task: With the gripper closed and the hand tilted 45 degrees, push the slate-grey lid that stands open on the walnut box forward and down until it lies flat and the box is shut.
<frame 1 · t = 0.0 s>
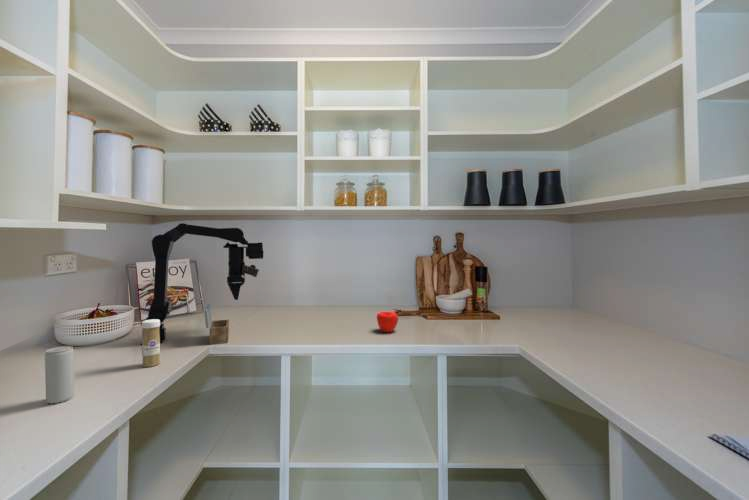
hand: (236, 298, 130), 15 cm above the worktop, tool pointing down, fingers open, 9 cm apart
sprinkles bottle: (151, 365, 97), on the worktop
apple: (387, 331, 136), on the worktop
walnut box: (219, 339, 124), on the worktop
box lid: (208, 315, 122), point 9 cm above the worktop, hinge at 95.0°
beverage can: (60, 400, 75), on the worktop
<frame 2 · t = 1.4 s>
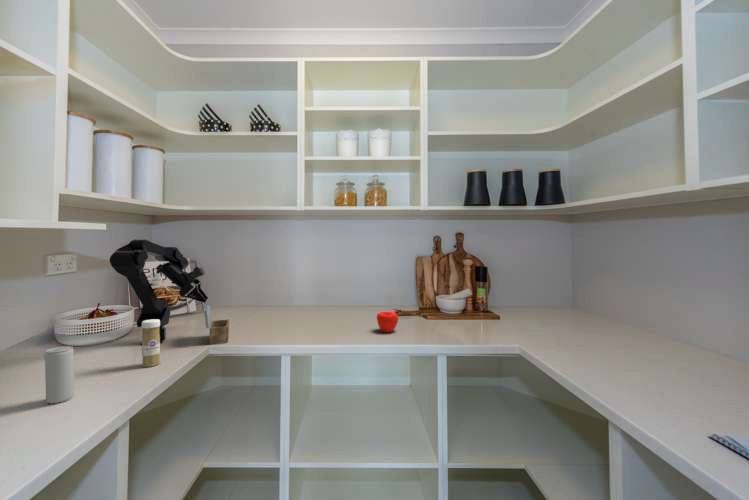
hand: (206, 300, 137), 13 cm above the worktop, tool tilted 45°, fingers open, 7 cm apart
nothing on the worktop moved.
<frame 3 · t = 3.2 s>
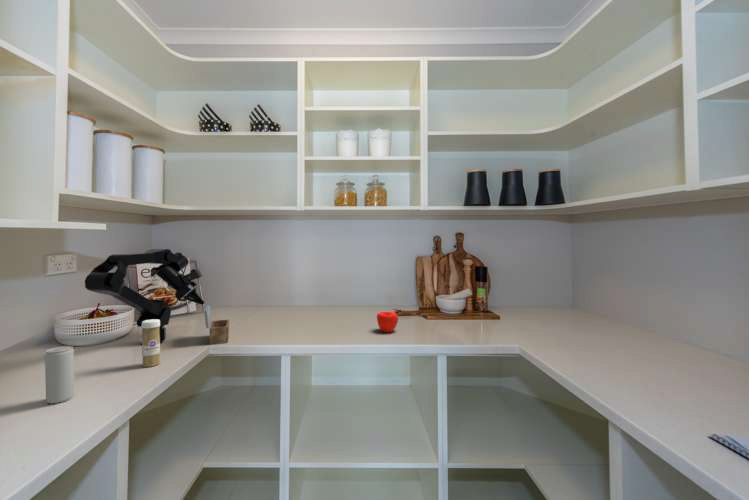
hand: (203, 303, 131), 12 cm above the worktop, tool tilted 45°, fingers closed
nothing on the worktop moved.
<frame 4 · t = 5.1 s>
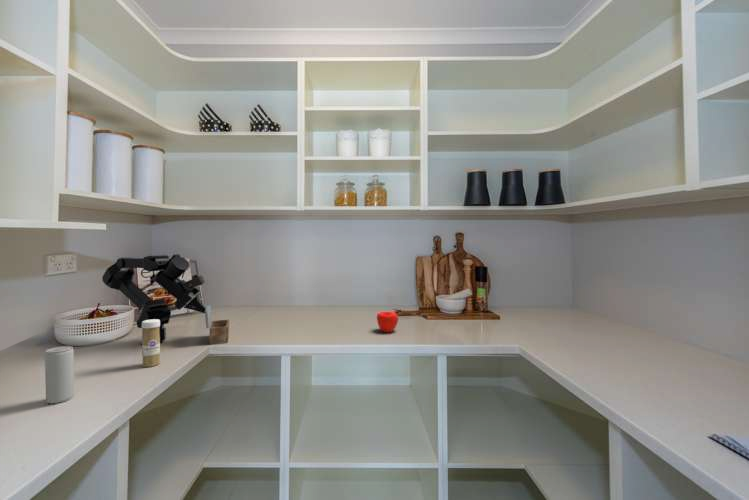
hand: (206, 312, 121), 11 cm above the worktop, tool tilted 45°, fingers closed, pressing on box lid
box lid: (208, 315, 122), point 9 cm above the worktop, hinge at 93.4°, touching gripper
everything else where it was.
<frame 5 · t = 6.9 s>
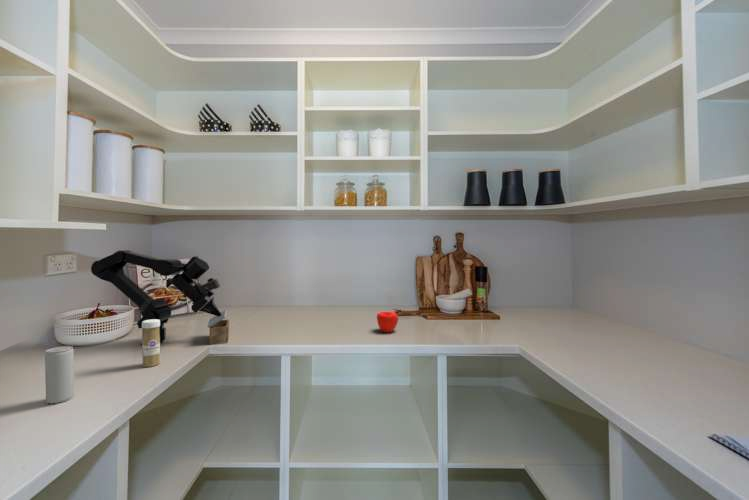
hand: (220, 315, 123), 9 cm above the worktop, tool tilted 45°, fingers closed, pressing on box lid
box lid: (217, 318, 123), point 8 cm above the worktop, hinge at 29.8°, touching gripper
everything else where it was.
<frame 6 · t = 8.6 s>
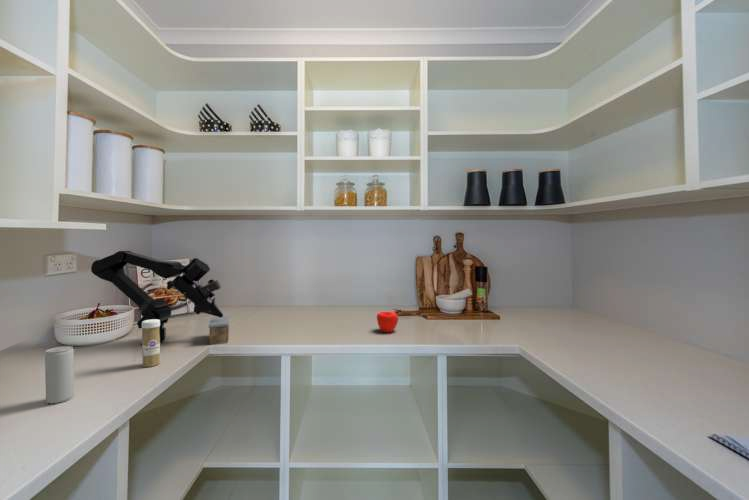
hand: (222, 316, 124), 9 cm above the worktop, tool tilted 45°, fingers closed
box lid: (219, 321, 123), point 7 cm above the worktop, hinge at 1.4°
everything else where it was.
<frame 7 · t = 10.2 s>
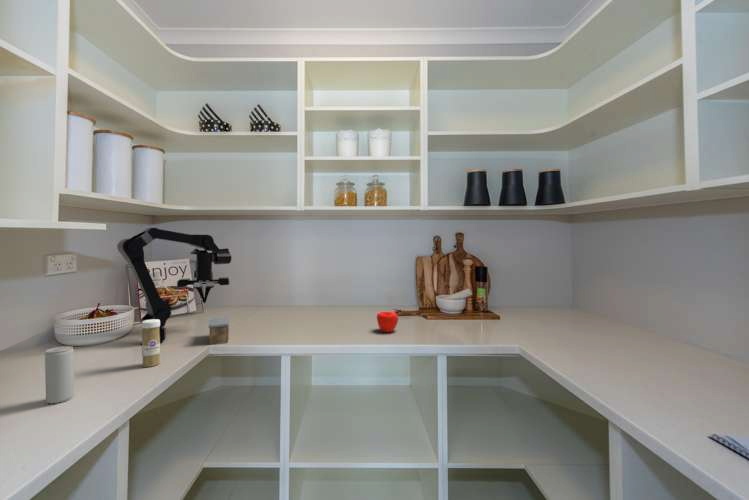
hand: (204, 302, 134), 12 cm above the worktop, tool pointing down, fingers closed
box lid: (219, 321, 123), point 7 cm above the worktop, hinge at 1.1°
everything else where it was.
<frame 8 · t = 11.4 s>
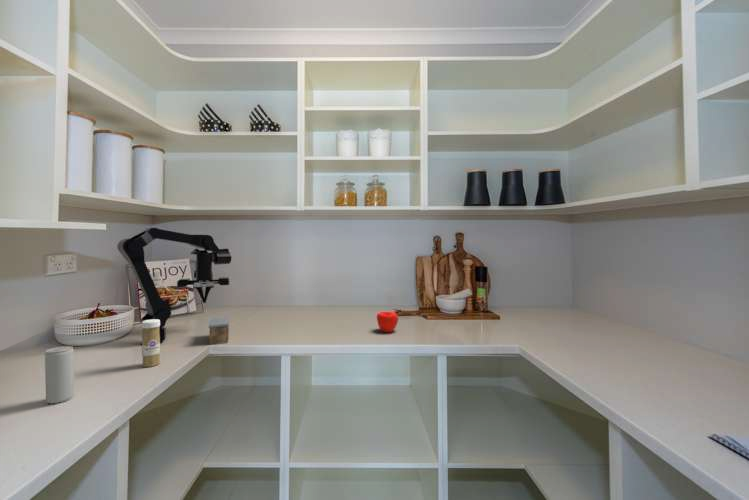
hand: (204, 302, 134), 12 cm above the worktop, tool pointing down, fingers closed
nothing on the worktop moved.
at the end: box lid at +1° (first picture: +95°); sprinkles bottle moved 0.2 cm from its start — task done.
